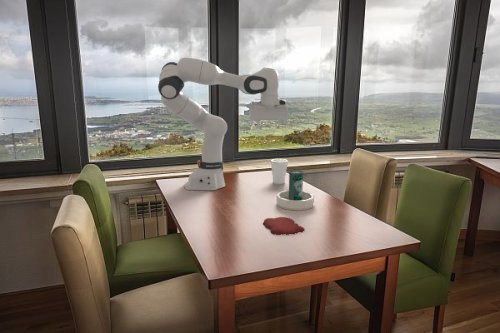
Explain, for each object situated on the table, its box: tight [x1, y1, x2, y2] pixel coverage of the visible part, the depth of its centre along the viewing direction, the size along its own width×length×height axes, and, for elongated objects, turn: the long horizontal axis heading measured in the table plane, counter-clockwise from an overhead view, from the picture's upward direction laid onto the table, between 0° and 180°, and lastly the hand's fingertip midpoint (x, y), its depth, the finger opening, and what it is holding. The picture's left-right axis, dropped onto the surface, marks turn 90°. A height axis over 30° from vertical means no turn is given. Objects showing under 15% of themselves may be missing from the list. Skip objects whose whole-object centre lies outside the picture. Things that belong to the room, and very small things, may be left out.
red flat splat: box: [262, 216, 305, 236], centre depth 151 cm, size 18×14×2 cm
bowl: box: [275, 189, 315, 212], centre depth 177 cm, size 17×17×4 cm
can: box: [288, 169, 304, 201], centre depth 176 cm, size 6×6×15 cm
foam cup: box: [270, 158, 289, 185], centre depth 213 cm, size 10×9×13 cm
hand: (268, 128), depth 191 cm, fingers open, 8 cm apart
